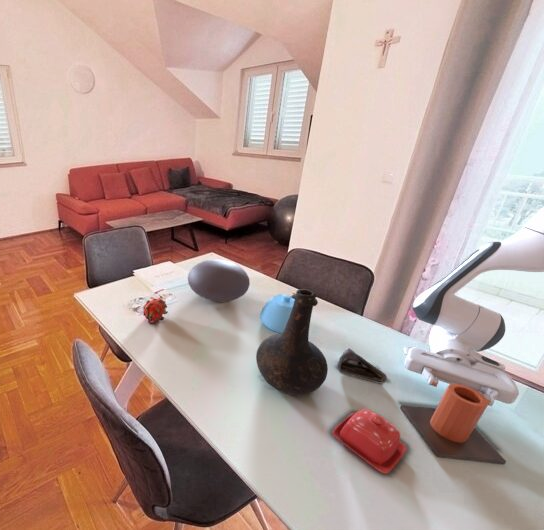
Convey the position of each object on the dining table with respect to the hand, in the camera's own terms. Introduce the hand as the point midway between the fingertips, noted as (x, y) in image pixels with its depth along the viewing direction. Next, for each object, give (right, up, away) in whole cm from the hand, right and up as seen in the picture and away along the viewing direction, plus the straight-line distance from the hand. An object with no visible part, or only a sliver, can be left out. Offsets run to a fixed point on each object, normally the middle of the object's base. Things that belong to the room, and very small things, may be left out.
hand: (459, 392), depth 73 cm
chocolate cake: (-11, -1, +19) cm, 22 cm away
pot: (-3, -8, -1) cm, 9 cm away
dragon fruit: (-70, +10, +43) cm, 83 cm away
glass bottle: (-34, -3, +15) cm, 37 cm away
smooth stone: (-43, +17, +59) cm, 75 cm away
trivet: (-3, -9, 0) cm, 10 cm away
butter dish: (-24, -11, -3) cm, 26 cm away
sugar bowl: (-24, +8, +40) cm, 48 cm away
